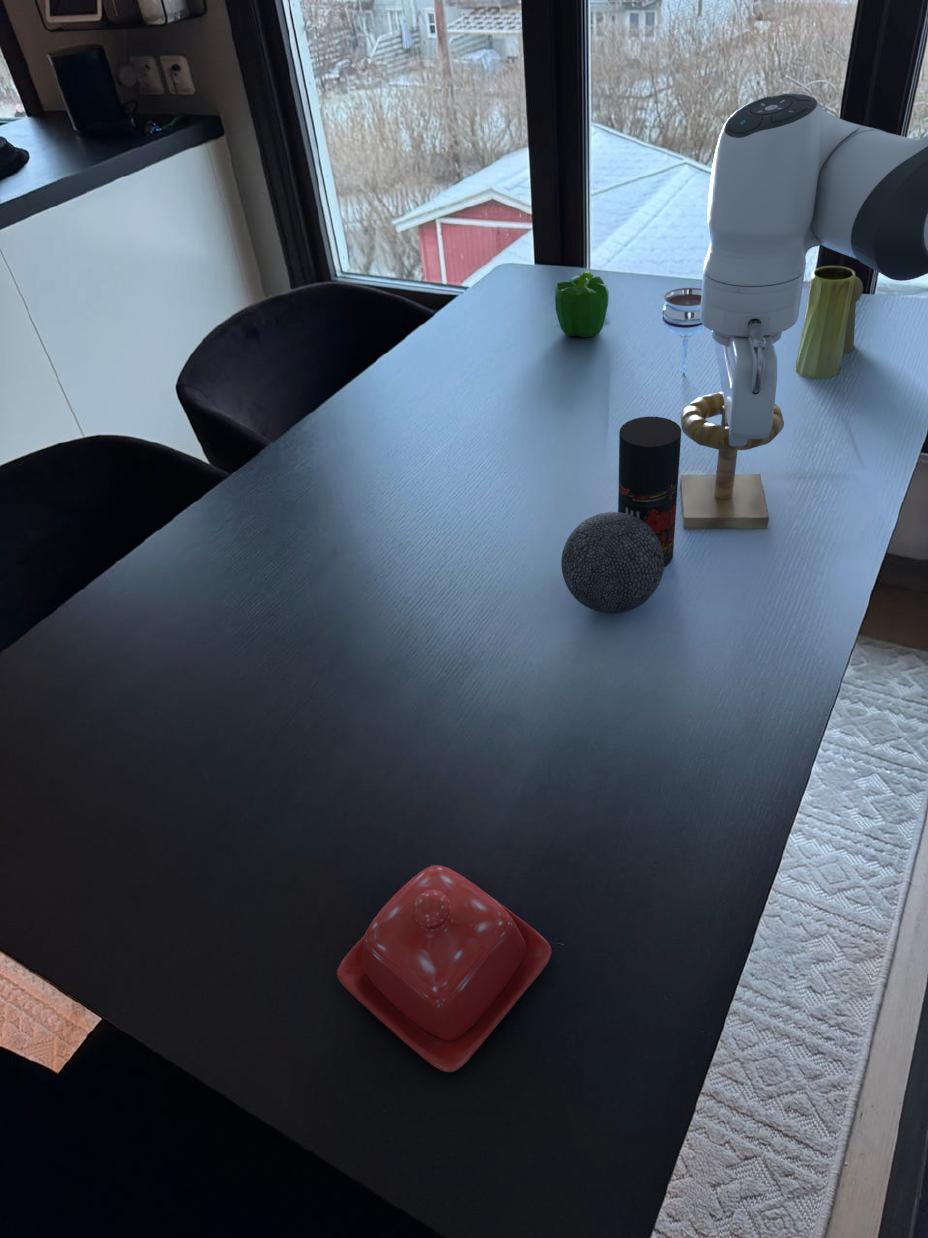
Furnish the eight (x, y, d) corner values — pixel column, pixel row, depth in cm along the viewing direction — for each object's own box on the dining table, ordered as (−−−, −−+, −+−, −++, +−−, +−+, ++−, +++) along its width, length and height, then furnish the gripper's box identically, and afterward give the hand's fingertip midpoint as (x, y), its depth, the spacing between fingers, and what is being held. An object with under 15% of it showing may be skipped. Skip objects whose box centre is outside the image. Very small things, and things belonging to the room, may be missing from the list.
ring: (775, 407, 98) (778, 386, 96) (786, 453, 90) (790, 432, 88) (679, 409, 100) (680, 389, 98) (681, 454, 92) (683, 434, 90)
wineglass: (717, 380, 124) (725, 295, 117) (682, 396, 122) (688, 310, 114) (683, 365, 129) (688, 283, 121) (648, 380, 126) (651, 297, 119)
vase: (807, 363, 126) (823, 261, 116) (848, 373, 122) (868, 269, 113) (784, 379, 123) (799, 275, 113) (825, 390, 119) (844, 284, 110)
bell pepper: (551, 325, 144) (549, 263, 138) (601, 318, 145) (601, 256, 138) (561, 346, 138) (559, 282, 132) (613, 339, 138) (614, 274, 132)
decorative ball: (651, 641, 85) (655, 558, 79) (551, 625, 88) (547, 544, 82) (670, 579, 92) (675, 498, 86) (576, 566, 95) (574, 487, 89)
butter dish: (451, 1091, 56) (435, 1030, 50) (331, 981, 62) (305, 916, 57) (561, 957, 62) (557, 889, 56) (441, 869, 68) (427, 801, 63)
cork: (806, 361, 126) (818, 284, 119) (810, 344, 130) (822, 268, 123) (851, 364, 124) (866, 286, 117) (854, 346, 128) (869, 269, 121)
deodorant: (611, 567, 95) (612, 443, 85) (624, 535, 99) (627, 413, 89) (667, 575, 93) (674, 449, 83) (678, 542, 97) (686, 419, 87)
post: (758, 484, 104) (772, 385, 96) (767, 528, 97) (782, 426, 89) (680, 485, 105) (686, 388, 97) (683, 529, 98) (690, 428, 90)
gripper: (802, 346, 73) (780, 488, 82) (772, 260, 89) (756, 387, 98) (723, 349, 74) (710, 489, 83) (707, 263, 90) (698, 389, 99)
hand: (735, 433), depth 91 cm, fingers closed on ring, 2 cm apart
